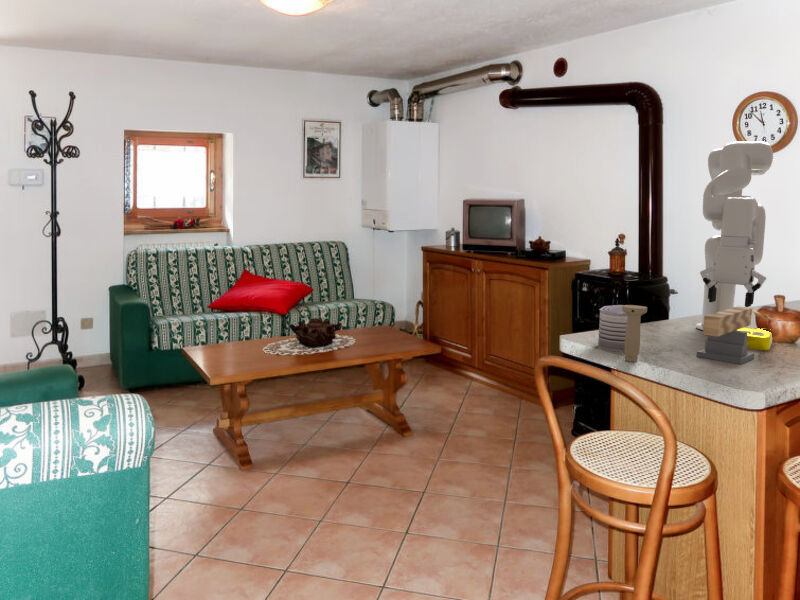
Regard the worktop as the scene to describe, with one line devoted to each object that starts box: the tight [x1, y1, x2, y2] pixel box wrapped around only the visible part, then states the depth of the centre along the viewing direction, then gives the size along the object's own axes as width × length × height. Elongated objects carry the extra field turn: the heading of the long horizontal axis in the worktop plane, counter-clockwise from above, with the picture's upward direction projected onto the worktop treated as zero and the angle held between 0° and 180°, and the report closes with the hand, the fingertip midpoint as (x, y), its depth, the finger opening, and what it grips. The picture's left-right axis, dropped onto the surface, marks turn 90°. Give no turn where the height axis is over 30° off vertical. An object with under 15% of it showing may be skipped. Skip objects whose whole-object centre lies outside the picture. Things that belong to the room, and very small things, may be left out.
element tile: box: [738, 326, 773, 351], centre depth 220 cm, size 15×15×5 cm
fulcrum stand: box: [696, 330, 755, 365], centre depth 200 cm, size 10×12×8 cm
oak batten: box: [702, 305, 753, 336], centre depth 199 cm, size 24×4×5 cm, turn 135°
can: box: [597, 304, 628, 353], centre depth 211 cm, size 11×11×12 cm
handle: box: [622, 304, 648, 363], centre depth 194 cm, size 5×6×15 cm
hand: (729, 304), depth 198 cm, fingers open, 9 cm apart
